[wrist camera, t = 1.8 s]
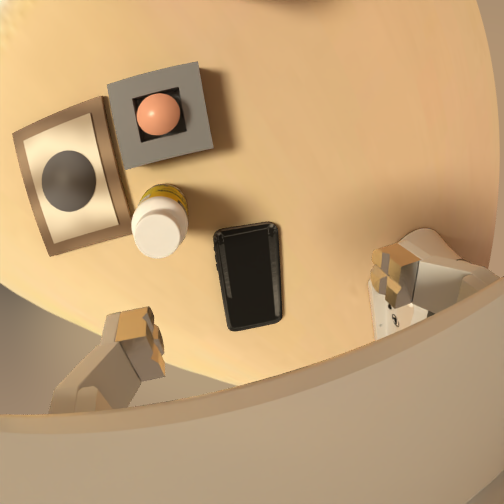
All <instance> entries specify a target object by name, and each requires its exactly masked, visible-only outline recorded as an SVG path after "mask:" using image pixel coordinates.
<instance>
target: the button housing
mask: <svg viewBox="0 0 504 504" xmlns="http://www.w3.org/2000/svg"><path fill="white" fill-rule="evenodd" d="M107 88H108V94H109V99H110V104H111V110H112V115H113V120H114V125H115V129H116V134H117V139H118V143H119V147H120V152H121V156H122V160H123V164H124V168H125V170H127V169H131V168H134V167H138V166H141V165H145V164H149V163H153V162H156V161H160V160H164V159H168V158H172V157H176V156H181V155H185V154H189V153H194V152H198V151H203V150H207V149H212V148H213V143H212V137H211V132H210V126H209V121H208V116H207V110H206V105H205V99H204V94H203V88H202V82H201V77H200V71H199V65H198V62H192V63H187V64H182V65H178V66H173V67H169V68H164V69H160V70H156V71H152V72H148V73H144V74H141V75H137V76H133V77H130V78H127V79H123V80H120V81H117V82H114V83H110V84H107ZM158 93H162V94H167V95H169V96H171V97H172V98H173V99H174V100H175V101H176V102H177V104H178V106H179V108H180V119H179V122H178V124H177V125H176V126H175V127H174V128H173V129H172V130H171V131H169V132H168V133H165V134H163V135H151V134H148V133H146V132H145V131H143V130H142V129H141V127H140V126H139V124H138V121H137V111H138V108H139V106H140V104H141V102H142V101H143V100H144V99H145V98H147V97H148V96H150V95H153V94H158Z"/></svg>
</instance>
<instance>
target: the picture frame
mask: <svg viewBox="0 0 504 504" xmlns="http://www.w3.org/2000/svg"><path fill="white" fill-rule="evenodd" d="M12 135H13V139H14V144H15V149H16V153H17V157H18V162H19V166H20V170H21V173H22V177H23V181H24V184H25V188H26V191H27V194H28V198H29V201H30V204H31V207H32V210H33V213H34V216H35V219H36V222H37V225H38V228H39V230H40V233H41V236H42V238H43V241H44V244H45V246H46V249H47V251H48V254H49V256H50V257H51V256H54V255H57V254H61V253H64V252H68V251H71V250H74V249H78V248H81V247H85V246H88V245H92V244H96V243H99V242H103V241H106V240H110V239H114V238H117V237H121V236H125V235H129V234H132V228H131V222H132V217H131V213H130V210H129V206H128V203H127V199H126V196H125V192H124V188H123V185H122V181H121V177H120V173H119V169H118V165H117V161H116V157H115V153H114V149H113V144H112V140H111V135H110V131H109V126H108V121H107V116H106V111H105V106H104V101H103V96H99V97H96V98H93V99H90V100H87V101H85V102H82V103H79V104H77V105H74V106H72V107H69V108H67V109H64V110H62V111H59V112H57V113H55V114H52V115H50V116H48V117H45V118H43V119H41V120H39V121H37V122H35V123H32V124H30V125H28V126H26V127H24V128H22V129H20V130H18V131H16V132H14V133H12Z"/></svg>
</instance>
